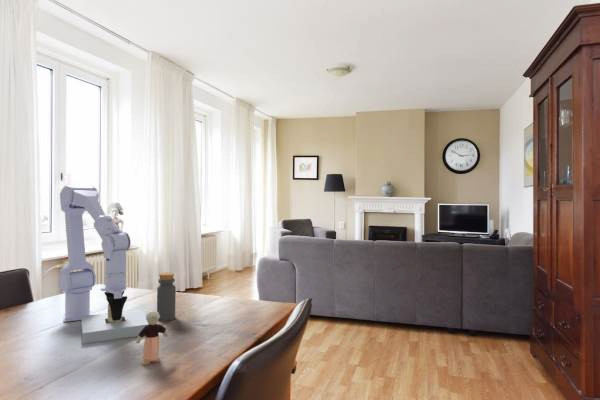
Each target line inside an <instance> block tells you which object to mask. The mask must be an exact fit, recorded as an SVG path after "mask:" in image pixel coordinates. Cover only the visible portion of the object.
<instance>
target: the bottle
mask: <svg viewBox="0 0 600 400" xmlns="http://www.w3.org/2000/svg"><path fill="white" fill-rule="evenodd" d="M174 275H175V273H173V272H161V273H159V274H158V276H159V279H158V283H159V284H160V285H158V286H157V289H156V290H157V291H156V292H157V295H156V296H157V297H156V312H158V313H159V315H160V318H159V319H158V321H161V322H167V321H168V322H169V321H172V320H174V319H176V296H177V295H176V285H174V283H175V278H174Z"/></svg>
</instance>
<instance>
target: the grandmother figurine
mask: <svg viewBox="0 0 600 400" xmlns="http://www.w3.org/2000/svg"><path fill="white" fill-rule="evenodd" d="M159 318H160V315H159V313H158V312H157V310H154V309H152V310H150V311H148V312H147V313H146V320H147V322H148V324H149V325H146V326H145V327H144V328H143V329H142V331H141V332H140V333H139V336H137V338H136V340H135V344H140V343H141V341H142V340H143V338H144V342H143V348H142V349H143V350H142V362H141V366H147V365H150V364H151V362H152V363H159V362H161V358H160V357H159V355H160V334H162V335H163V337H165V338H167V337H168V336H169V334H168V332H167V328H166V327H165V326H164V325H162V324H159V323H158V322H159V320H158V319H159ZM159 333H160V334H159Z"/></svg>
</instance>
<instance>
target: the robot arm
mask: <svg viewBox="0 0 600 400" xmlns="http://www.w3.org/2000/svg"><path fill="white" fill-rule="evenodd" d="M99 194H100V193H99V191H98V189H97V188H96V187H95V186H93V185H90V186H83V185H69V184H67V185H64V186H63V187H62V189H61V191H60V192H59V200H60V210H61V211H62V212H64V218H65V231H66V232H65V234H66V247H67V259H68V260H67V261H68V262H67V263H66V264H65V265H64V266H62V267H61V268H60V270H59V278H58V286H59V289H60V290H61V291H62V292H63V293H64V294H65V295H64V298H65V299H64V303H65V304H64V313H63V322H64V323H66V322H67V323H68V322H75V321H76V322H77V321H81V316H87V315H92V314H91V308H90V307H91V304H90V301H91V298H90V297H91V291H93V287H94V286H95V284H96V282H97V274H96V273H95V269H94V265H93V264H91V263H90V262H89V261H87V260H86V250H85V249H86V248H85V247H86V246H85V236H84V234H85V233H84V222H83V214H85V212H87V214H89V215H90V217H91V218H92V219H93V221H94V222H93V227H94V229H95V231H96V232H97V234H98V235H99V237H100V239H101V241H102V242H101V249H102V252H103V257H104V259H105V280H104V281H105V285H104V286H102V287H100V290H101V292H104V295H105V297H106V302H107V303H108V304H109V305H110V309H111V316H112V320H113V321H115V320H120V319H121V315H122V311H124V307H125V303H126V302H127V300H128V296H127V295H126V296H124V293H125V291H126V290H127V251H128V250H129V249H130V248H131V245H132V244H131V237H130V235H129V233H127V232H125V231H124V230H120V228H119V227H118V225H117V224H116V222H115V220H114V219H113V217H112V216H111V215H106V213H105V211H104V210H103V207H102V205H101V203H100V201H99V197H100V195H99Z"/></svg>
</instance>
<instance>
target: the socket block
mask: <svg viewBox="0 0 600 400" xmlns="http://www.w3.org/2000/svg"><path fill="white" fill-rule="evenodd" d="M146 315H147V313H145V311H144V309H143V308H142V309H141V308H140V309H133V310H122V322H116V323H108V312H106V313H97V314H91V315H87V316H81V320H80V321H81V323H80V324H81V325H80V326H81V341H82V343H81V344H82V345H85V344H91V343H99V342H100V343H101V342H106V341H113V340H120V339H126V338H133V337H138V336H139V333H140V332H141V331H142V329H143V328H144V327H145V326H146V325H149V324H148V322H147V320H146Z"/></svg>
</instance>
